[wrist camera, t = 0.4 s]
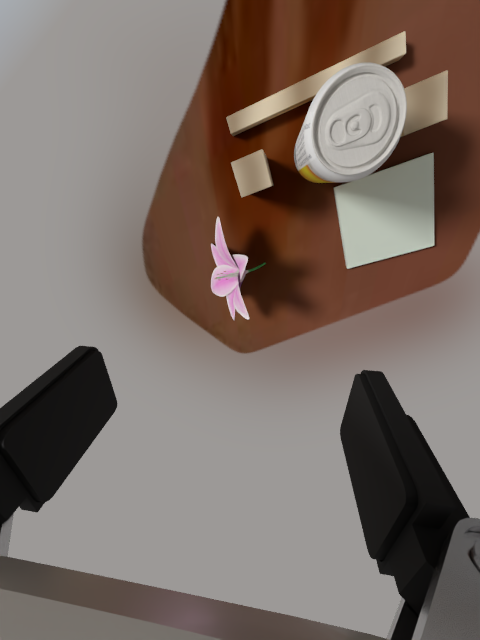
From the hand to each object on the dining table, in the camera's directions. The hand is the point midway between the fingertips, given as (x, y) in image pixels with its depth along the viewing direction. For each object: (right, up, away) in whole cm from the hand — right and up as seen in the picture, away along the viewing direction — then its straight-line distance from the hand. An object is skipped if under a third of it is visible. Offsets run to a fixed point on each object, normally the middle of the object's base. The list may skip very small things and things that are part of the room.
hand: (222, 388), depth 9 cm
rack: (+9, +23, +18) cm, 31 cm away
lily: (0, +11, +26) cm, 28 cm away
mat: (+18, +15, +21) cm, 31 cm away
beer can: (+10, +21, +19) cm, 30 cm away
